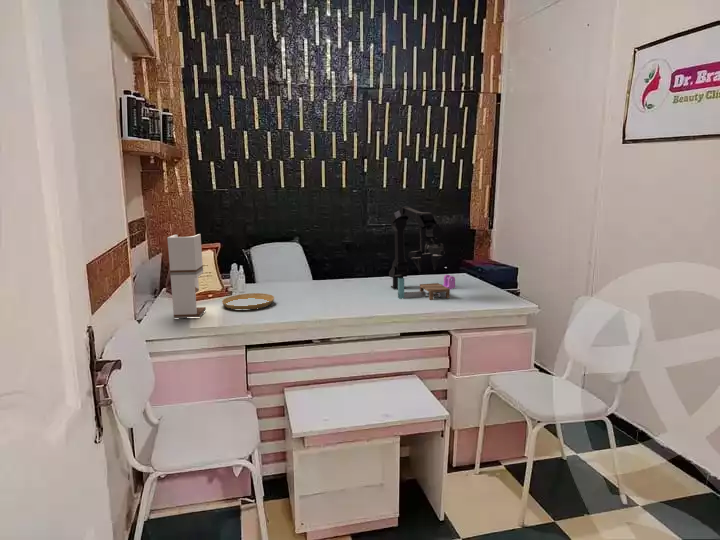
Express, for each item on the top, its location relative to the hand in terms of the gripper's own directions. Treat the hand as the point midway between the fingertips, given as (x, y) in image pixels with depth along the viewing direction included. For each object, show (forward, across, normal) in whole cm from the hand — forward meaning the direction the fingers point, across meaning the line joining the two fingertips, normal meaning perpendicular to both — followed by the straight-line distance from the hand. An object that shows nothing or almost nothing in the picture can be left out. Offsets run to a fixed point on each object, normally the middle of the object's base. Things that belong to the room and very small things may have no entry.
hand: (427, 271), depth 235 cm
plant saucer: (+11, -76, +41) cm, 87 cm away
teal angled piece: (+13, -4, +8) cm, 16 cm away
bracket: (+12, +22, +15) cm, 29 cm away
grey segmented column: (+12, -104, +38) cm, 111 cm away
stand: (+13, +8, +4) cm, 16 cm away
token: (+14, +8, +4) cm, 16 cm away
